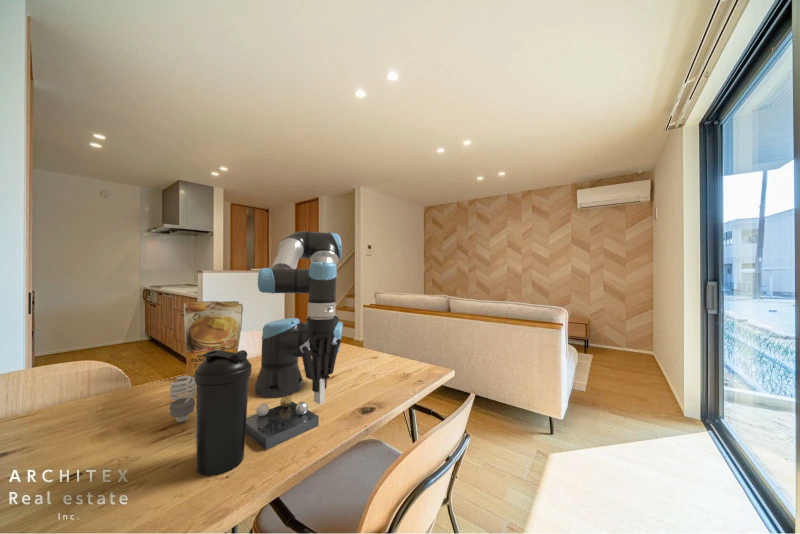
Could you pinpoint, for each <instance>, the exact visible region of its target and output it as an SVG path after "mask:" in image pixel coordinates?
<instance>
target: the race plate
mask: <svg viewBox="0 0 800 534" xmlns="http://www.w3.org/2000/svg"><path fill="white" fill-rule="evenodd" d="M297 404H298V403H296V402H294V401H292V402H291V404H290V406H288V407H282V406H281V404H280V405H278V406H275V407H271V408H269V411H268V413H267V414H266V415H264V416H259V415H258V414H257V413H255V414H253V415H250V416H246V431H245V435H246V436H248V437H249V438H251V440H253V441H254V442H255V443H257V444H258V445H259V446H260V447H261V448H263V449H264V450H265V451H267V450H269V449H272V448H273V447H275V446H278V445H281V444H282V443H284V442H286V441H289V440H291V439H293V438H295V437H297V436H299V435H302V434H304V433H306V432H308V431H310V430H312V429H314V428H316V427H319V426H320V425H319V421H320V420H319V419H320V418H319V415H317V414H316V413H314V412H312V411H310V410H309V409H308V411H307V412H306V413H305V414H304V415H298V414H297V413H296V410H295V409H296V406H297Z"/></svg>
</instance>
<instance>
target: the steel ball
mask: <svg viewBox="0 0 800 534" xmlns="http://www.w3.org/2000/svg"><path fill="white" fill-rule="evenodd" d="M296 404H297V406H296V409H295V410H296V413H297V414H298V415H304V414H305V413H306V412H307V411H308V410H309V405H308V403H307V402H305V401H300V402H298V403H296Z"/></svg>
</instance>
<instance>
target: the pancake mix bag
mask: <svg viewBox="0 0 800 534" xmlns="http://www.w3.org/2000/svg"><path fill="white" fill-rule="evenodd" d="M182 305H183V307H182V308H183V309H182V311H183V321H184V322H183V329H184V330H183V332H184V334H183V335H184V342H185V361H186V367H185V375H184V376H190V377H194V378H195V371H196V370H197V369H198V367H199V365H200V364H201V363H202V362H204V361H205V359H206V357H202V355H203V354H205V353H207V352H209V351H212V350H223V351H227V352H233V353H237V352H239V347H240V346H239V345H240V340H241V331H242V323H243V322H242V321H243V311H244V307H243V303H240V301H235V300H233V301H215V300H214V301H212V300H211V301H210V300H208V301H188V302H186V303H183V304H182ZM183 380H188V379H183ZM191 381H192V380H191Z"/></svg>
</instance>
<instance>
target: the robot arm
mask: <svg viewBox="0 0 800 534" xmlns="http://www.w3.org/2000/svg"><path fill="white" fill-rule="evenodd" d="M277 248H278V249H277V250H278V251H277V254H276V257H275V259H274V261H273V262H272V265H271V267H262V268H260V269H259V271H258V275H257V288H258V291H259V292H260V293H263V294H265V293H266V294H308V300H307V317H306V322H301V321H300V319H299V318H298V317H295V318H294V317H291V318H290V317H289V318H282V319H277V320H272V321H269V322H267V323H266V324H264V326H263V327H262V336H261V361H260V362H261V364H260V365H261V366H260V370H259V373H258V375H257V378H256V380H255V384H254V394H255V395H256V396H258V397H263V398H279V397H280V398H282V397H284V396H289V395H293V394H295V393H298V392H299V391H301V390H302V388H303V381H304V379H303V376H302V373H301V371H300V370H301V369H300V366H299V358H301V359H302V362H303V369H304V373H305V378H306V379H309V380H311V381H312V383H311V384H312V386H311V387H312V389H311V391H312V392H313V402H314V403H316V404H319V405H321V404H324V403H325V394H326V393H325V390H326V389H327V384H328V383H327V382H328V381H327V380H328V379H330V377H331V376H330V375H333V374H334V370H335V365H336V360H337V356H338V354H339V352H340V349H341V343H342V336H343V335H342V334H343V328H344V323H343V321H340V318H339V316H338V315H337V314H336V302H337V301H336V300H337V299H336V296H337V294H336V293H337V276H338V273H337V264H338V263H339V261H340V260H342V258H343V257H342V256H343V251H342V250H343V248H342V240H341V236H340V235H339V234H338V233H335V232H319V231H306V230H302V231H297V232H294V233H291V234H289V235H287V236H285V237H283V239H282V240H281V241H280V243H279V244H278V247H277ZM300 259H309V260H310V264H309V267H308V268H298V263H299V260H300Z"/></svg>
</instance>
